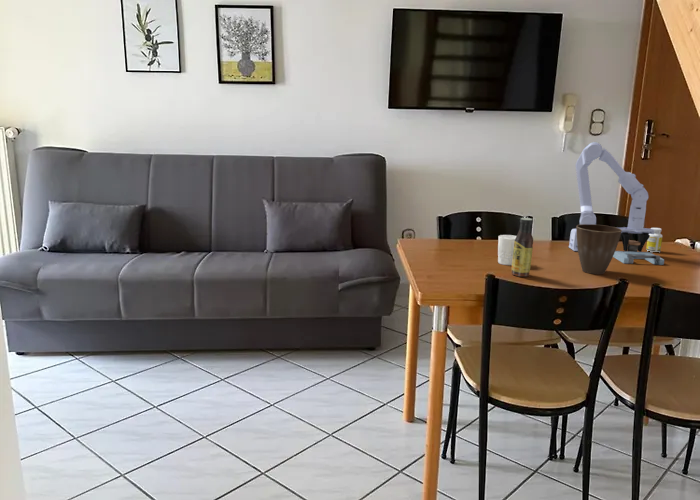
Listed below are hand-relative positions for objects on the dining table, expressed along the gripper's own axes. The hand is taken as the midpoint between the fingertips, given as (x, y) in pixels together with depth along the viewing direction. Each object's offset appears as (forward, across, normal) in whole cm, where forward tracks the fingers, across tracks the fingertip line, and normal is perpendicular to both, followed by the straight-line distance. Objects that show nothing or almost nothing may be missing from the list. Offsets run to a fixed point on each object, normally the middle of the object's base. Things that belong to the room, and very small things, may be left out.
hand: (632, 250), depth 247 cm
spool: (+2, 0, 0) cm, 2 cm away
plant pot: (+2, -26, -31) cm, 40 cm away
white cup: (+2, -55, -23) cm, 60 cm away
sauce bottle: (+2, -54, -40) cm, 67 cm away
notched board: (+2, -2, -9) cm, 9 cm away
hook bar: (+2, -2, -15) cm, 15 cm away
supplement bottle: (+2, +12, +8) cm, 15 cm away
